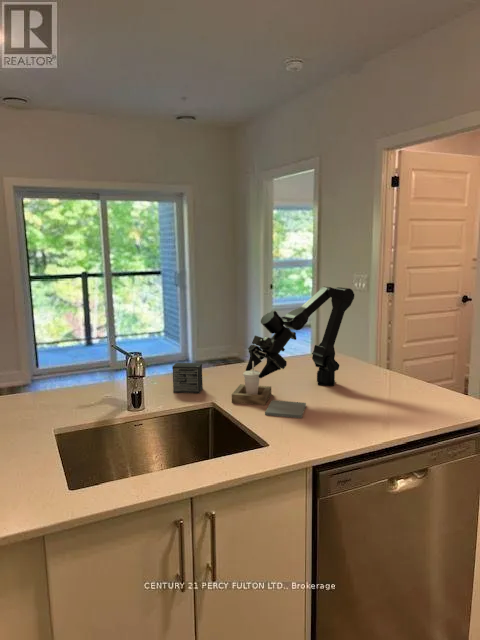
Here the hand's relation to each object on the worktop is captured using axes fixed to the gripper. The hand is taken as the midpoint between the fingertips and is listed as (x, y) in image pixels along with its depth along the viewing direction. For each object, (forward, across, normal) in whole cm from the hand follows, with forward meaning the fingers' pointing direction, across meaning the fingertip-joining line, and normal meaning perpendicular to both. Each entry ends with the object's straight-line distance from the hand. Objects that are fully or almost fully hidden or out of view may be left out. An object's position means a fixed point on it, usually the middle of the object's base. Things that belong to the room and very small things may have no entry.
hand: (252, 374), depth 167 cm
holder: (+7, 0, +6) cm, 9 cm away
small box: (+19, -20, -5) cm, 28 cm away
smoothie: (+7, 0, +6) cm, 9 cm away
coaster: (+4, +16, +9) cm, 19 cm away
